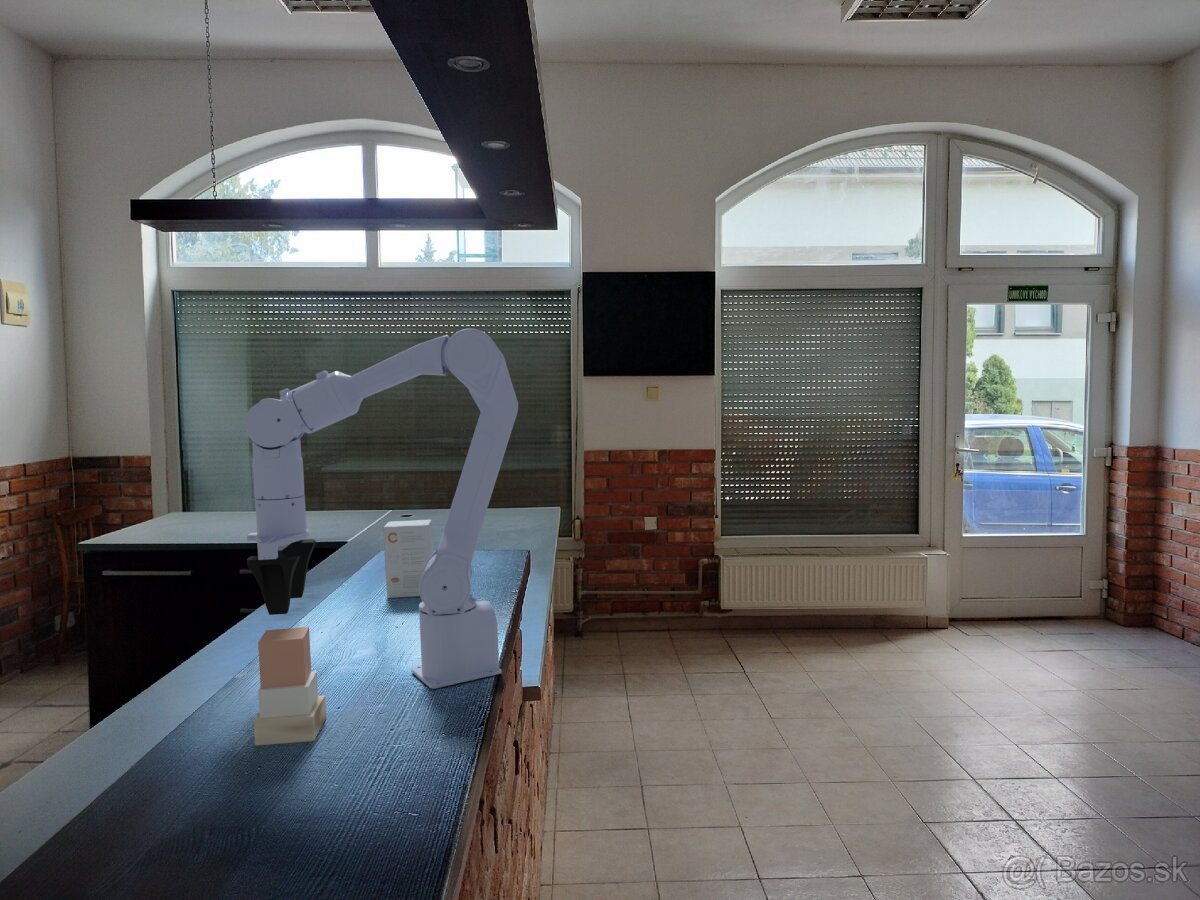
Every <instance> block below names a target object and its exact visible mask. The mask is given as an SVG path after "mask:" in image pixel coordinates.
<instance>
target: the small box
mask: <svg viewBox="0 0 1200 900" xmlns="http://www.w3.org/2000/svg"><path fill="white" fill-rule="evenodd" d="M382 531H383V547H384V562H385V563H384V564H385V567H384V568H385V582H386V584H385V585H386V596H387V599H393V598H394V599H396V598H397V599H398V598H409V597H413V598H414V597H420V594H419V581H420V578H421V576H422V574H423V573H424V567H425V564H426V562H427V560H428V559H429V557H430V556H431V555H432V554H433V553H434V552H435V551H434V550H435V549H434V533H433V519H417V520H394V521H388V522H387V523H386V524H385V525H384V526H383V527H382Z"/></svg>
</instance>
